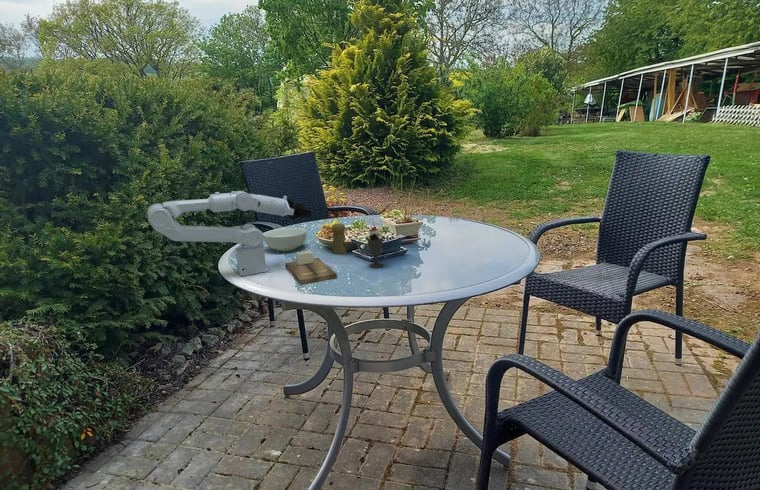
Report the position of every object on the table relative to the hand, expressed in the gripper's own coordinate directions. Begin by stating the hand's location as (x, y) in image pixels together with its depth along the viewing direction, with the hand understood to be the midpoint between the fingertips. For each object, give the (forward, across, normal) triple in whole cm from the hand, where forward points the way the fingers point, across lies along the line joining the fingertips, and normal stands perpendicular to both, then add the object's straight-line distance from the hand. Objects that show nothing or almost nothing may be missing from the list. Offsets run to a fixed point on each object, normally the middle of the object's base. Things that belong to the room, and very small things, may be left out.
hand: (307, 211), depth 158 cm
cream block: (0, -8, +17) cm, 18 cm away
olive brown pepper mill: (+18, +3, +14) cm, 23 cm away
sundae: (+21, -20, +12) cm, 31 cm away
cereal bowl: (+2, +20, +20) cm, 28 cm away
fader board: (0, -14, +18) cm, 23 cm away
